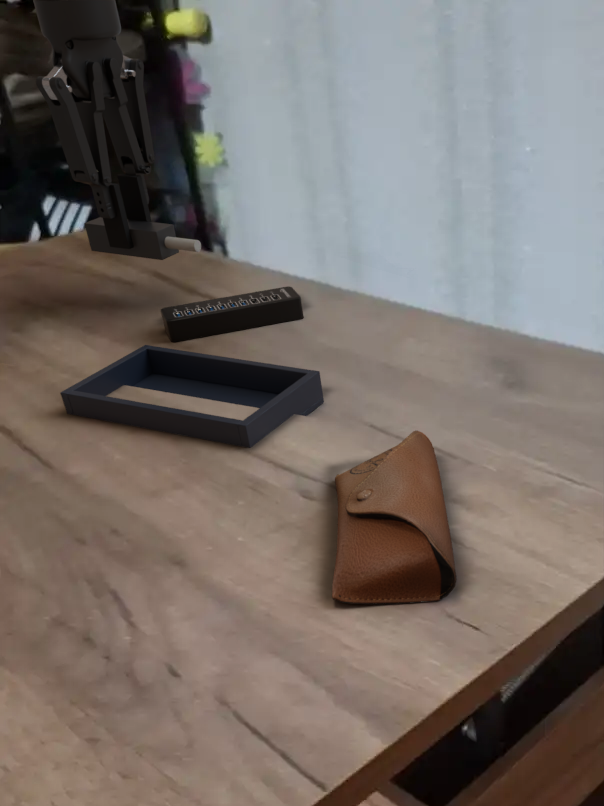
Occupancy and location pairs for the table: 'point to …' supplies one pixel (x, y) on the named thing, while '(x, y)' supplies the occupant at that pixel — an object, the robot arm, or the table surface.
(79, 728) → the table surface
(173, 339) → the multiport hub
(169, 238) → the black block with peg
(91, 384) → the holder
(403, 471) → the sunglasses case
